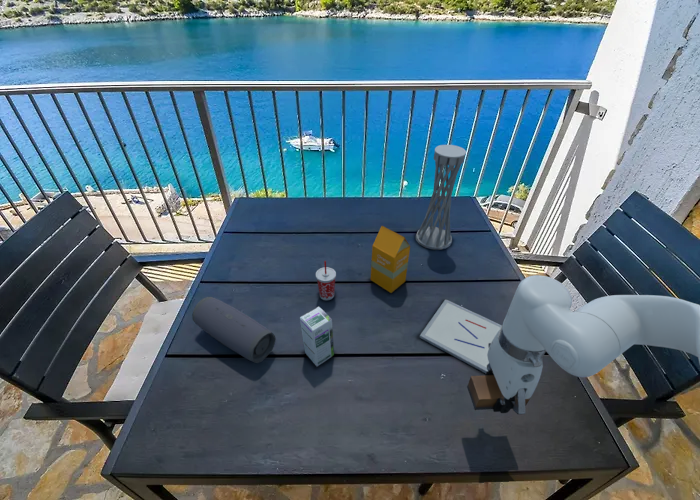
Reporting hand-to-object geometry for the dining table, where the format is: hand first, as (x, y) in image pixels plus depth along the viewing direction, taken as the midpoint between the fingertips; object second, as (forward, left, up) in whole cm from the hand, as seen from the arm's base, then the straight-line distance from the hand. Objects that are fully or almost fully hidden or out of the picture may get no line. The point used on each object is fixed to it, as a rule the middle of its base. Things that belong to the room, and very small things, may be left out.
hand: (495, 395), depth 70 cm
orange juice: (+41, -28, -13) cm, 51 cm away
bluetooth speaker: (+62, +17, -13) cm, 66 cm away
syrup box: (+41, +7, -13) cm, 44 cm away
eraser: (0, 0, 0) cm, 0 cm away
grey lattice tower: (+39, -58, -13) cm, 71 cm away
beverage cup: (+53, -11, -13) cm, 56 cm away
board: (+11, -22, -12) cm, 27 cm away
